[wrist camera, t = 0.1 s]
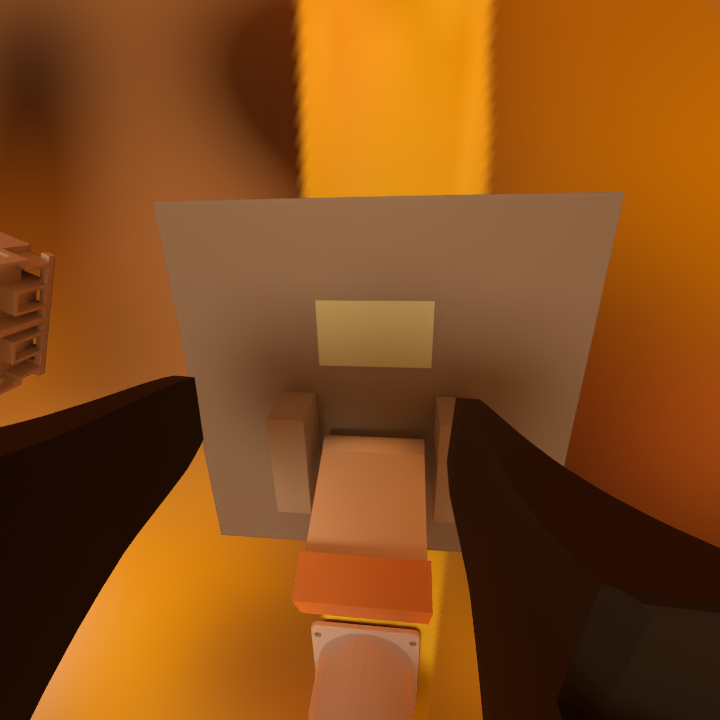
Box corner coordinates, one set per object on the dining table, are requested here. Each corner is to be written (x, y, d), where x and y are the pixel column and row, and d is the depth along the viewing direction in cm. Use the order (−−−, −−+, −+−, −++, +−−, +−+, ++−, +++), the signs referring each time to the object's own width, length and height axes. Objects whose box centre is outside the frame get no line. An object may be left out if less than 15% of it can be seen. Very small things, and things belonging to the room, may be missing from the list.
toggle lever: (423, 451, 19) (428, 624, 14) (327, 447, 20) (301, 612, 15) (426, 429, 18) (432, 613, 13) (322, 425, 18) (291, 600, 13)
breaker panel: (527, 516, 24) (560, 602, 19) (241, 498, 26) (200, 572, 20) (588, 192, 17) (667, 190, 12) (190, 200, 19) (110, 202, 14)
